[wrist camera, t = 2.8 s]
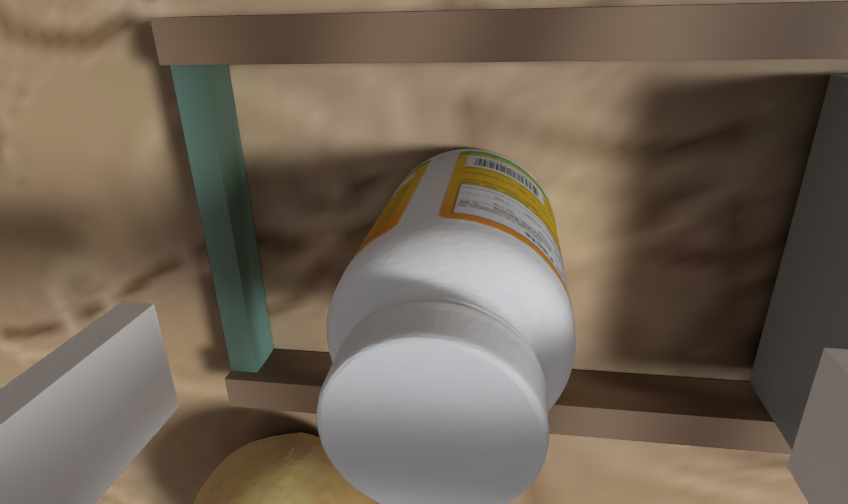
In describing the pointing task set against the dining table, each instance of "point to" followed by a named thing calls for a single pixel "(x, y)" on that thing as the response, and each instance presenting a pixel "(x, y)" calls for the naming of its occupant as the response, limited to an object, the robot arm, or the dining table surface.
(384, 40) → the bay
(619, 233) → the dining table surface
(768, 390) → the box
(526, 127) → the dining table surface
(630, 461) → the dining table surface
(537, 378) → the supplement bottle
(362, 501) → the onion
